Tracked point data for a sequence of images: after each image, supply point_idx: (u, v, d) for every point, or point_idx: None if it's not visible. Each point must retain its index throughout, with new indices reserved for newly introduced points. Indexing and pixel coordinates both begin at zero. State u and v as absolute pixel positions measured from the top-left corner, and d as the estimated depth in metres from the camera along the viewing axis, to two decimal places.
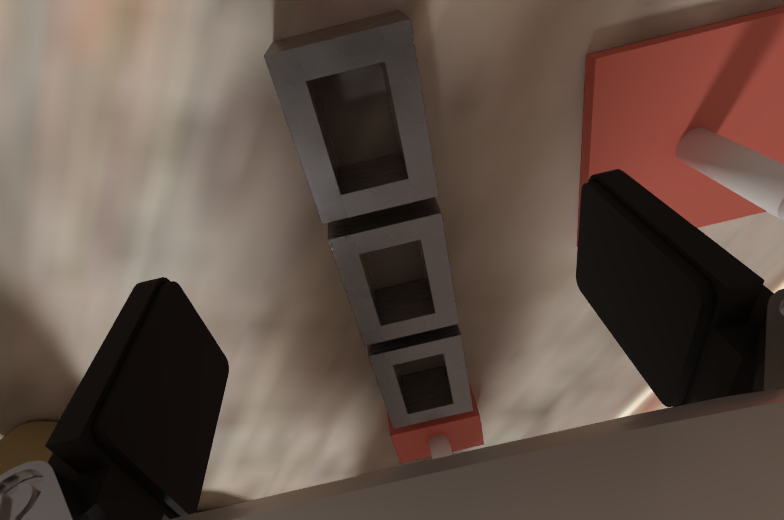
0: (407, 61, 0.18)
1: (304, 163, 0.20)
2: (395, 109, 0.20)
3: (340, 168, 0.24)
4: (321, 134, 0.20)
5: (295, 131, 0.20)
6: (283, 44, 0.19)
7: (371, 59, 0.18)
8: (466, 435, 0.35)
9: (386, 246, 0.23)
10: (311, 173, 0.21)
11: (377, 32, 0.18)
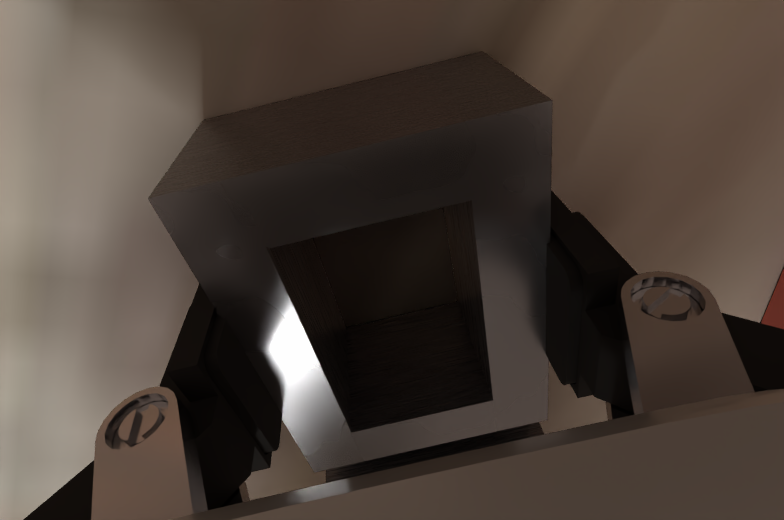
0: (527, 198, 0.07)
1: (274, 393, 0.09)
2: (482, 290, 0.08)
3: (348, 333, 0.13)
4: (309, 342, 0.09)
5: (248, 342, 0.08)
6: (216, 143, 0.08)
7: (437, 196, 0.07)
8: None
9: None
10: (289, 406, 0.10)
11: (459, 134, 0.06)
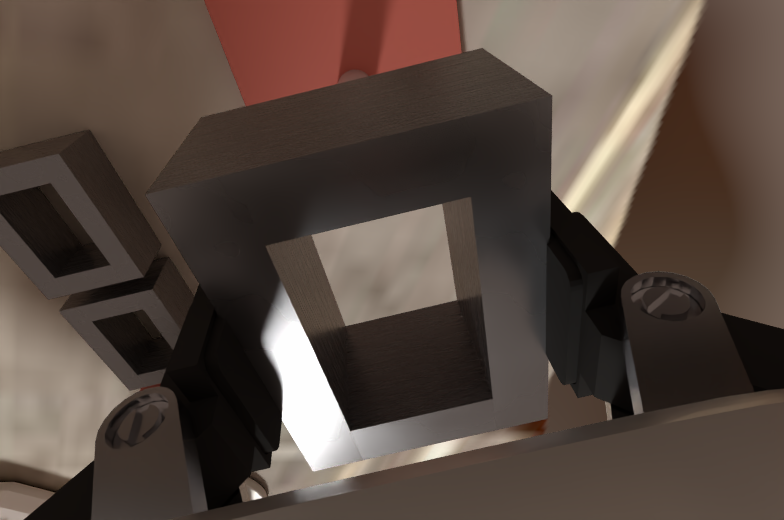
0: (526, 195, 0.07)
1: (272, 391, 0.09)
2: (481, 288, 0.08)
3: (348, 331, 0.13)
4: (308, 340, 0.09)
5: (246, 340, 0.08)
6: (214, 139, 0.08)
7: (436, 193, 0.07)
8: None
9: (14, 190, 0.23)
10: (287, 404, 0.10)
11: (458, 130, 0.06)
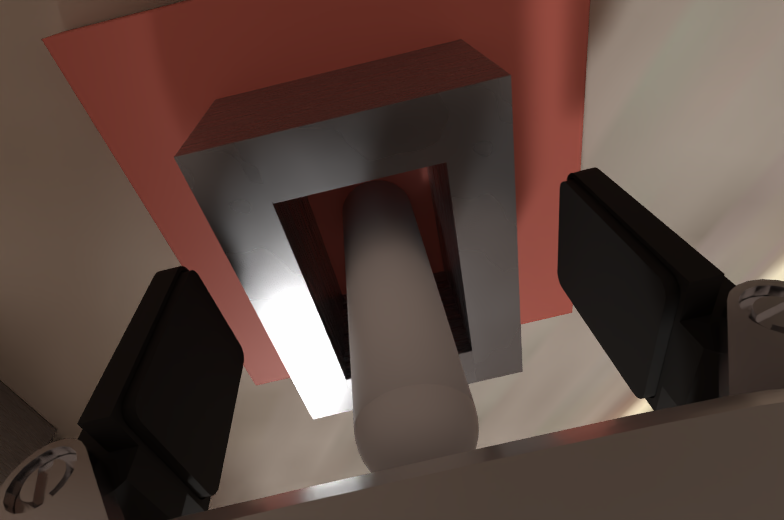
0: (493, 161, 0.08)
1: (277, 339, 0.10)
2: (458, 245, 0.10)
3: (344, 298, 0.14)
4: (308, 292, 0.10)
5: (255, 290, 0.10)
6: (228, 116, 0.09)
7: (416, 158, 0.08)
8: None
9: None
10: (290, 352, 0.11)
11: (434, 104, 0.08)
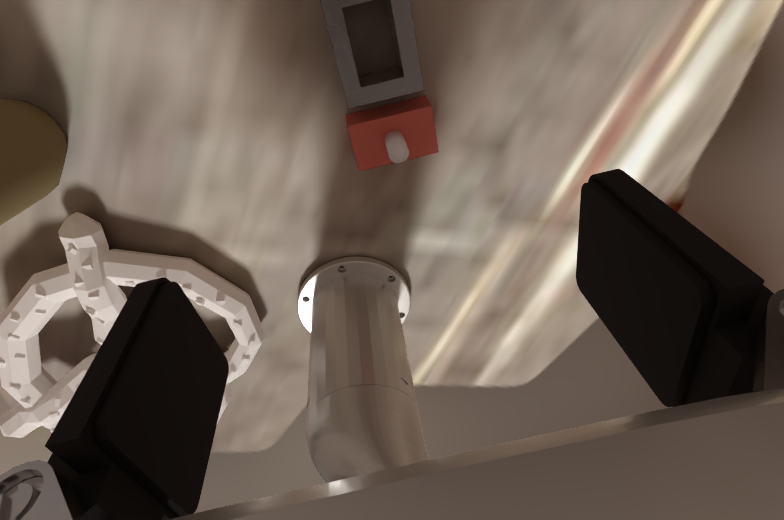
0: None
1: None
2: None
3: None
4: None
5: None
6: None
7: None
8: (420, 135, 0.37)
9: None
10: None
11: None
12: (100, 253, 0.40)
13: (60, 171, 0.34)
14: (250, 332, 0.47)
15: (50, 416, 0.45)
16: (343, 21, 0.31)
